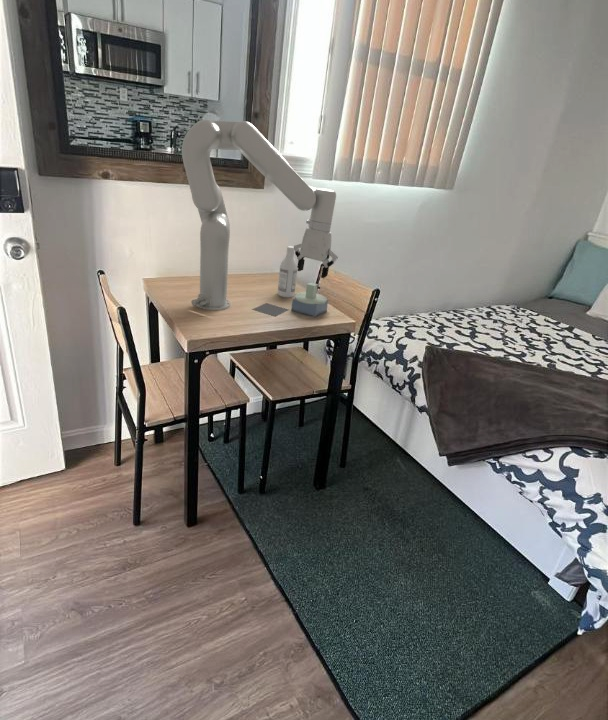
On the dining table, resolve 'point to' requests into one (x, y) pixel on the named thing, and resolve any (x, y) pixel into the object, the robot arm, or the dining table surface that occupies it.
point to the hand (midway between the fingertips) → (311, 273)
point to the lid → (310, 295)
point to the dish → (309, 308)
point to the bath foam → (288, 274)
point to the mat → (270, 309)
